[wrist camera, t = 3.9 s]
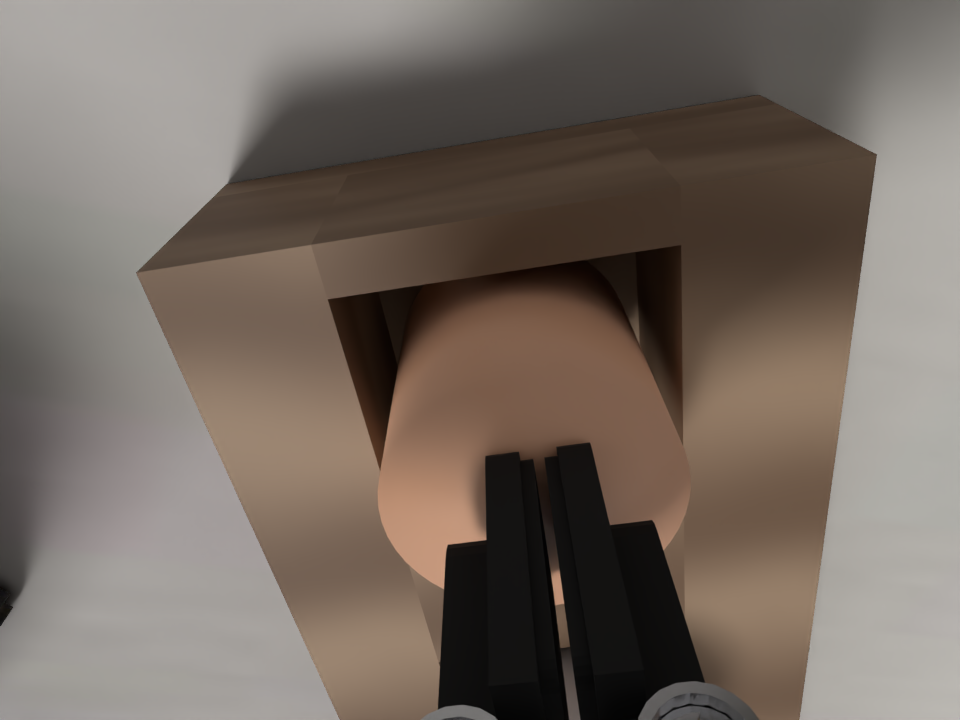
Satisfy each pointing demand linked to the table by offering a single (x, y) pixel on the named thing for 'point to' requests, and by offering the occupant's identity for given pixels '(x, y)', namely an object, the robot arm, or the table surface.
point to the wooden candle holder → (515, 246)
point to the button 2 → (522, 408)
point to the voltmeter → (4, 606)
